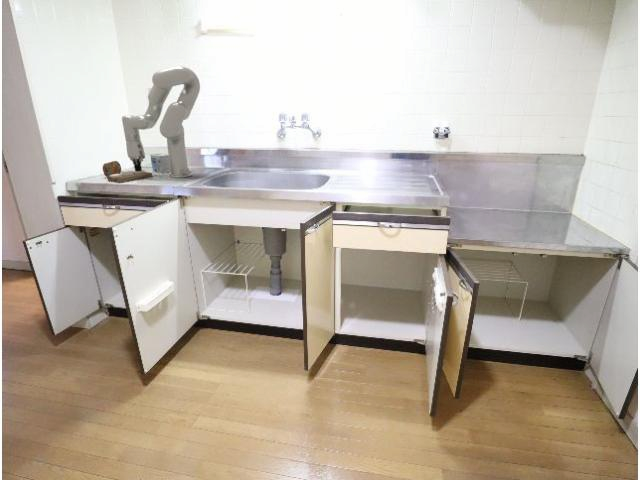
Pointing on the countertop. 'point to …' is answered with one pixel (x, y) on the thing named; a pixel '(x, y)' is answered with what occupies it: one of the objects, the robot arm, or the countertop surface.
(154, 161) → the light bulb box
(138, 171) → the end button
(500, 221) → the countertop surface
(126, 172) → the middle button
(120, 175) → the end button
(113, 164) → the tin
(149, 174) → the button board
